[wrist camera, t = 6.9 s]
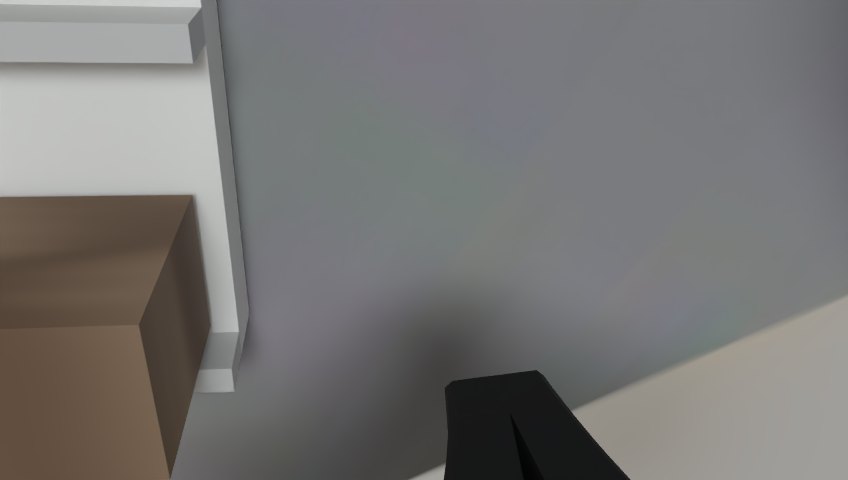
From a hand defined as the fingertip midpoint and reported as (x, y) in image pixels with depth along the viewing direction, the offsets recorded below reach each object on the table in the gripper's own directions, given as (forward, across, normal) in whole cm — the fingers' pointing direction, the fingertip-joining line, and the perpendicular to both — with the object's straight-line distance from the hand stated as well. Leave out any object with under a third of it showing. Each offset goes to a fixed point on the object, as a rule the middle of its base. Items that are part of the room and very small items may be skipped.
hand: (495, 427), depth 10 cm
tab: (+5, +7, -1) cm, 8 cm away
